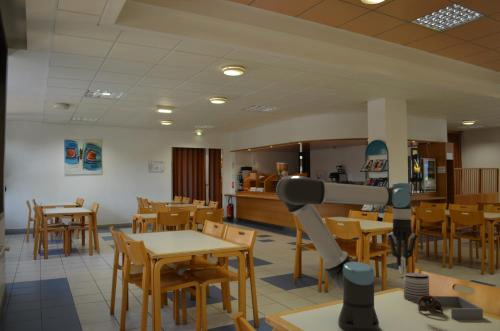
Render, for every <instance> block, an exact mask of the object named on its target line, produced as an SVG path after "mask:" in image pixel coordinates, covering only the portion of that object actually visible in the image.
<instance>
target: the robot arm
mask: <svg viewBox="0 0 500 331" xmlns="http://www.w3.org/2000/svg"><path fill="white" fill-rule="evenodd" d="M275 192H276V196H277V198H278V199H279V201H281V202H282V203H283V204H284V205H285V207H286V209H287V210H288V212H289V213H290V214H293V215H295V217H297V219H298V221H299V223H300V225H301V226H302V228H303V230H304V231H305V233H306V234H307V236H308V237H309V239H310V241H311V242H312V244H313V245H314V247H315V249H316V250H317V252H318V254H319V256H320V257H321V258H322V260H323V262H322V263H323V264H322V267H323V269H324V270H325V273H326V277H327V279H328V281H329V282H330V283H331V284H332V285H334V286H335V287H337V288H339V289H340V290H341V291H342V301H343V302H342V307H341V310H340V313H339V316H338V321H337V322H338V323H337V324H338V327H340V328H341V329H343V330H345V331H379V329H380V322H379V319H378V318H379V317H378V315H377V312H376V310H375V278H376V277H375V272H374V269H373V266H371V265H369V264H367V263H362V261H361V262H360V261H353V260H352V259H351V257H350V255H349V254H348V252H347V251H344V250H342V249H341V247H340V246H339V244H338V243H337V241H336V239H335V238H334V236H333V235H332V233H331V231H330V230H329V227H328V226H327V225H326V223H325V221H324V220H323V218H322V217H321V214H320V213H319V212H318V210H317V208H316V206H315V205H322V204H324V203H330V204H331V203H334V204H347V205H348V204H349V205H351V204H352V205H365V206H378V207H379V206H381V207H389V208H390V207H392V230H391V232H390V233H387V234H386V237H387V238H388V242H389V246H390V250H391V255H392V256H393V257H395V258H396V265H397V266H398V273H399V274H400V275H404V274H406V273H407V272H406V268H407V266H408V265H409V264H408V259H410V258H412V257H413V254H414V249H415V245H416V244H415V243H416V240H417V239H418V237H419V236H418V234H415V233H413V230H412V219H411V218H412V186H411V184H410V182H393V183H392V185H391V187H385V186H376V185H375V186H374V185H373V186H372V185H360V184H349V183H335V182H325V181H324V179H318V178H312V177H306V176H302V175H290V174H289V175H286V176H284V177H282V178H281V179H280V180H279V181H278V182H277V185H276V188H275ZM394 238H395V241H394ZM409 238H410V239H409ZM395 242H396V245H395ZM408 243H409V244H408Z"/></svg>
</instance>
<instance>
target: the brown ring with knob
mask: <svg viewBox="0 0 500 331" xmlns="http://www.w3.org/2000/svg"><path fill="white" fill-rule="evenodd" d="M433 296H434V295H431V294H429V295H424V296H422V297H421V298H420V299H419V300H418V302H417V309H418V312H419V313H421V312H425V313H426V312H427V313H428V312H430V311H439V312H441V314H442V315H444V309H443V306H441V304H440V302H439V301H438V300H437V299H435V298H434V297H433ZM422 300H423V302H422V303H424V304H421V303H420V302H421V301H422Z"/></svg>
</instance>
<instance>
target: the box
mask: <svg viewBox="0 0 500 331" xmlns="http://www.w3.org/2000/svg"><path fill="white" fill-rule="evenodd" d="M432 296H433V297H434V298H435V299H437V300H438V301H439V302H440V304H441V307H443V305H456V306H457V307H458V308H457V307H456V306H455V308H454V307H453V308H451V309H450V312H451V313H450V314H451V316H450V317H451V320H484V309H483V307H482V308H481V307H479V306H477V305H476V304H475V303H472V302H470V301H469V300H467V299H465V298H463V297H462V296H459V295H432ZM459 306H460V307H459ZM461 307H462V308H461Z"/></svg>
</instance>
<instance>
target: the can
mask: <svg viewBox="0 0 500 331" xmlns="http://www.w3.org/2000/svg"><path fill="white" fill-rule="evenodd" d="M424 295H430V274H427V273H419V272H417V273H416V272H406V274H403V298H404V300H406V301H409V302H413V303H418V300H419V299H420V298H421V297H422V296H424ZM421 303H424V302H423V300H422V301H421V302H420V304H421Z"/></svg>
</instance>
